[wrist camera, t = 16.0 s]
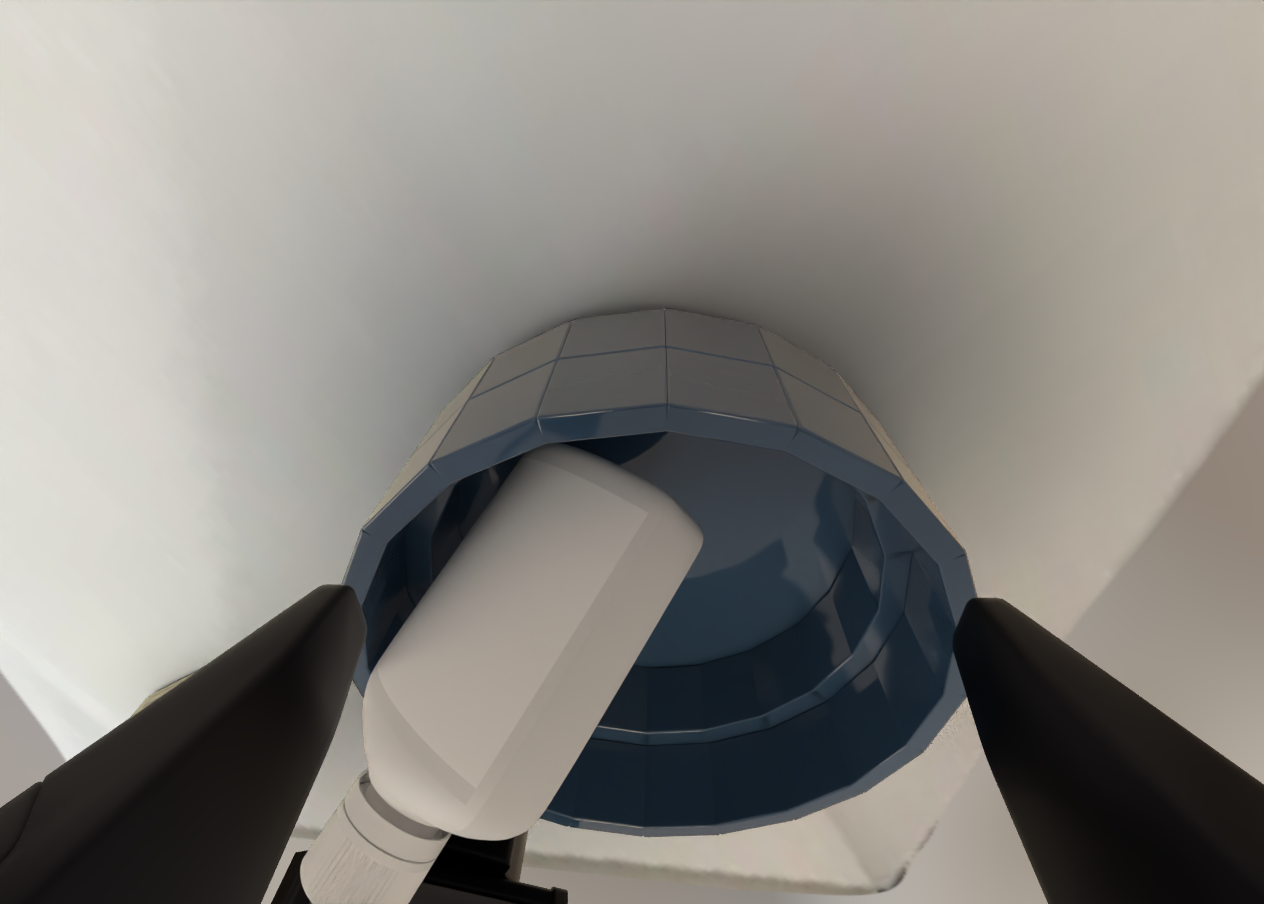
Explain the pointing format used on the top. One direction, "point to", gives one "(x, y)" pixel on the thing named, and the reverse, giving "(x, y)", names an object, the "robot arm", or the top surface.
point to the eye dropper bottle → (503, 670)
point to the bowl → (710, 567)
